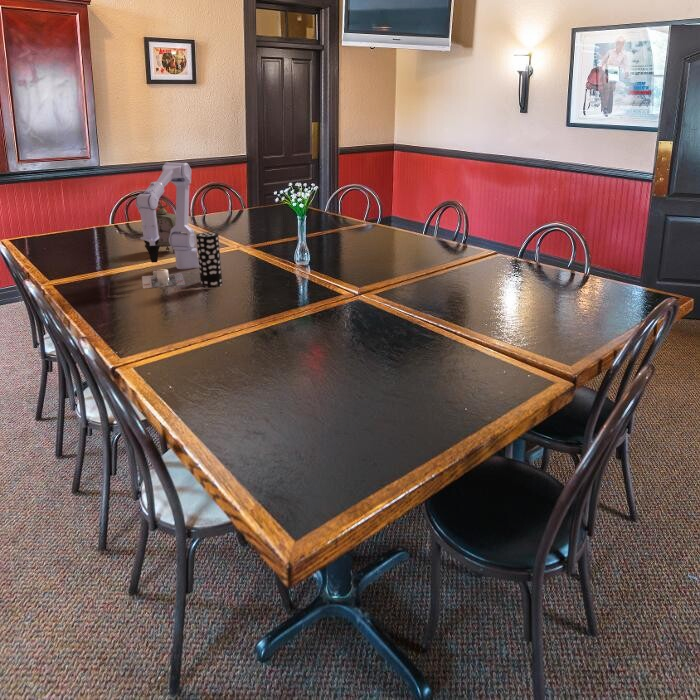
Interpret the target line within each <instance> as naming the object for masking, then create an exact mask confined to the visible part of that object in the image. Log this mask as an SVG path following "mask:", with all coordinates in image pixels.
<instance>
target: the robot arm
mask: <svg viewBox="0 0 700 700" xmlns="http://www.w3.org/2000/svg"><path fill="white" fill-rule="evenodd" d="M161 170H162V172H161V173H160V175H159V177H158V179H156V181H151V182H150V184H149V185H148V187H147V188H146V189H145V191H144V192H143V193H139V194H138V195H137V196H136V198H135V206H136V208H137V209H138V213H139V214H140V220H141V228H142V229H141V230H142V236H140V240H141V241H143V242H144V247H145V249H146V250H147V252H148V256H149V259H150V261H151V263H152V264H153V263H158V259H159V250H160V244H158V241H159V234H158V226H157V218H156V211H157V209H158V207H157V206H159V201H160V200H159V199H161V197H162V196H163V194H164V193H165V187H166V186H168V184H169V183H172V184H173V185H174V186H175V188H176V191H175V192H176V193H175V195H176V196H175V197H176V198H175V215H176V225H175V226H174V227H173V228H172V229H171V232H170V236H169V243H170V245H171V246H170V247H171V248H172V247H173V248H172V250H173V249H174V250H175V253H174V257H175V266H176V269H178V270H189V269H198V268H199V260H198V249H197V247H195V245H196V243H197V239H196V234H195V230H194V228H192V227H191V226H189V218H190V217H189V214H190V213H189V210H190V208H189V207H190V185H191V184H192V168H191V167H190V164H189V163H187V162H168V161H167V162H164V164H163V165H162V169H161ZM179 232H181V233H179Z"/></svg>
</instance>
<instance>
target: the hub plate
mask: <svg viewBox="0 0 700 700" xmlns="http://www.w3.org/2000/svg"><path fill="white" fill-rule="evenodd" d="M168 274H169V281H168V284H160V282H158V280H157V276H153V275H142V276H141V281H142V282H141V283H142V289H150V288H151V289H152V288H162V287H163V288H164V287H172V286H173V287H175V286H184V285H186V281H185V278H184V275H183V272H176V273H168Z"/></svg>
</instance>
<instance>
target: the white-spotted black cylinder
mask: <svg viewBox="0 0 700 700" xmlns="http://www.w3.org/2000/svg"><path fill="white" fill-rule="evenodd" d="M195 239H196V248H197V254H198V261H199V269H198V270H199V279H200V285H203V286H202V288H206V289H212V288H213V289H214V288H218V287H221V286H223V274H222V265H221V264H222V263H221V262H222V261H221V251H220V241H219V240H220V239H219V233H218V232H212V231H211V232H209V231H208V232H207V231H206V232H200V233H196V234H195Z"/></svg>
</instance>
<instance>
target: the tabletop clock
mask: <svg viewBox="0 0 700 700" xmlns="http://www.w3.org/2000/svg"><path fill="white" fill-rule="evenodd" d="M159 201H164V202H165V203H166V205H164V206H163V204H158V206H157V208H156V218H157V226H158V234H159V241H158V244H160V247H161V248H162V247H163V248H165V247H166V248H165V250H166V251H167V250H169V251H170V247H171V245H170V243H169V236H170V232H171V229H172V228H173V227H174V226H175V225H176V213H170V212H169V213H168V211H167V210H166V209H165V208H167V206H168V203H169V202H167V200H166V199H165V198H159ZM179 233H182V232H179ZM171 249H172V253H173V254H175V249H173V247H171Z"/></svg>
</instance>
